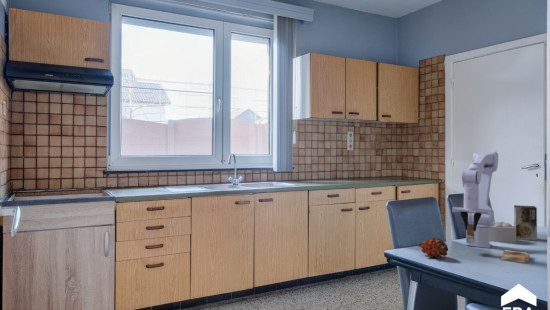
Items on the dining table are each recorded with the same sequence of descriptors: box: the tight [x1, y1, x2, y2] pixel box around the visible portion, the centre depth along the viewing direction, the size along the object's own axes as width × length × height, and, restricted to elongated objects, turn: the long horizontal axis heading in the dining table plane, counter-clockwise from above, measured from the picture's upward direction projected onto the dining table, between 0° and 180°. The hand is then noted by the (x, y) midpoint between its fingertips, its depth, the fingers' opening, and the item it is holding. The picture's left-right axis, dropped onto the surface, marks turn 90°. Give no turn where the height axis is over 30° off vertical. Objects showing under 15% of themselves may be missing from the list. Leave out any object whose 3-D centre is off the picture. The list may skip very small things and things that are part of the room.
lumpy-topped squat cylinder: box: [489, 221, 517, 244], centre depth 190 cm, size 10×13×9 cm
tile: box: [506, 254, 525, 258], centre depth 158 cm, size 6×6×1 cm
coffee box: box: [513, 204, 538, 241], centre depth 194 cm, size 9×6×16 cm
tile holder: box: [500, 249, 530, 264], centre depth 158 cm, size 9×11×2 cm
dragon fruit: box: [418, 237, 449, 259], centre depth 160 cm, size 8×8×12 cm
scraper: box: [467, 223, 474, 243], centre depth 167 cm, size 2×6×7 cm, turn 146°
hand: (470, 230), depth 167 cm, fingers closed on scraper, 2 cm apart
